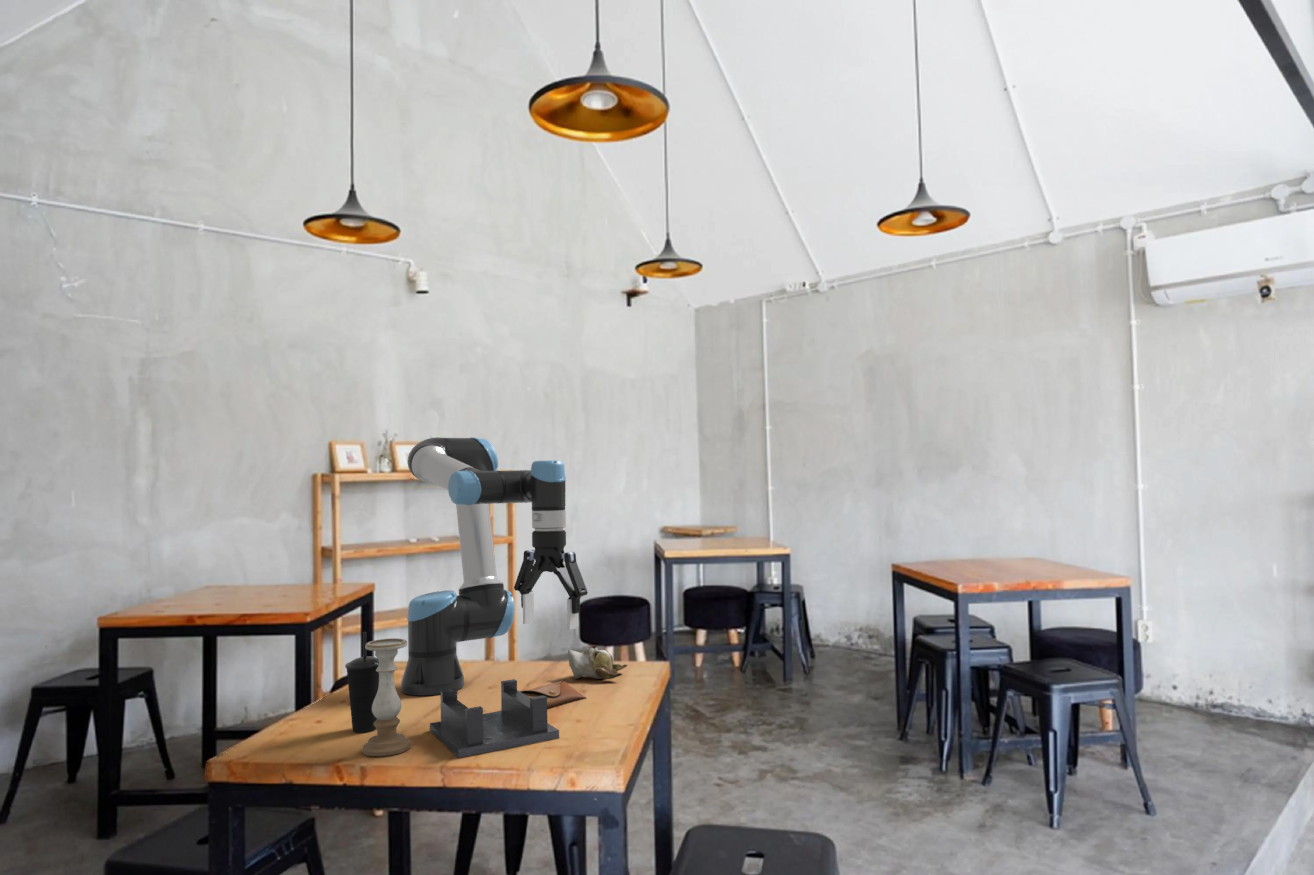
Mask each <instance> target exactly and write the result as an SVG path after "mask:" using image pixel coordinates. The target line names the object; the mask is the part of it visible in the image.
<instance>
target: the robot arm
mask: <svg viewBox="0 0 1314 875" xmlns="http://www.w3.org/2000/svg"><path fill="white" fill-rule="evenodd" d="M412 447H413V446H412ZM530 466H531V468H530V469H521V470H518V469H517V470H499V469H498V468H499V458H498V454H497V452H496V449H495V447H494V445H493V444H492V443H491V442H490V441H489V440H488V439H485V438H476V437H430V438H427V439H424V440H422V441H420V442H418V443H417V444H416V445H414V447H413V448H411V450H410V451H409V453H408V456H407V468H408V470H409V472H410V474H411V475H412V476H413V477H415V478H416V479H417V480H419V481H422V482H424V483H433V484H435V485H437V486H439V487H441V488H443V489H445V490H446V491H448V496H449V498H450V501H451V503H453V504H455V506H456V509H455V510H456V517H457V526H458V527H457V528H458V536H459V537H458V538H459V546H460V556H461V558H460V559H461V568H462V577H463V583H462V584H461V585H460V587H459V588H458V595H457V593H456V591H454V590H450V589H448V590H440V591H439V590H437V591H433V592H428V593H424V594H420V595H418V596H416V597H414V598H412V599H411V600H410V601H409V604H408V610H407V611H408V612H407V617H406V618H407V620H406V621H407V628H408V629H407V631H408V632H407V633H408V634H407V636H408V637H407V640H408V641H407V648H408V649H407V650H408V651H407V652H408V656H407V657H408V659H407V662H406V665H405V668H404V672H403V676H402V678H401V682H400V692H402V693H403V694H405V695H410V696H434V695H441V690H448V689H454V688H455V689H457V691H458V690H460V689H462V688H463V687H464V686H465V676H464V672H463V669H462V667H461V664H460V661H459V658H458V654H457V645H458V644H457V643H461V642H467V641H476V640H483V639H493V638H496V637H500V636H504V635H505V634H507V633H508V632H509V631H510V629H511V628H512V625H513V622H514V618H515V610H516V609H515V608H516V607H515V606H516V605H515V599H514V597H513V593H512V592H511V591H509V590H508V589H505V587H504V582H503V581H502V580H501V579H499V578H498V576H497V568H496V558H495V549H494V541H493V540H494V539H493V531H492V530H493V529H492V523H491V515H490V514H491V512H490V505H491V504H520V503H521V504H524V503H525V504H527V503H531V528H532V529H533V531H532V532H531V544H532V545H531V546H532V548H533V549H529V550H524V551H523V560H522V563H521V566H520V567H519V572H518V575H517V578H516V581H515V584H514V586H513V589H514V591H518V592H519V594H520V598H521V599H520V604H521V605H520V606H521V608H522V624H524V625H526V624H533V623H534V622H535V603H534V601H535V600H534V599H535V598H534V593H533V592H534V591H533V588H534V587H535V585H536V584H537V582H538V580H539V578H540V577H541V576H542V574H543V573H544V572H548V573H553V574H554V575H555V576H556V577H557V578H558V580H559V581H560V583H561V584H562V586H563V588H564V590H565V592H566V594H568V597H567V598H566V612H567V613H566V619H567V620H566V621H567V624H566V626H567V630H575V629H578V628H579V613H580V612H581V598H582V597H584V596H587V595H588V593H589V592H588V589H587V586H586V584H585V581H584V578H583V576H582V573H581V571H580V570H581V569H580V568H579V566H578V562H577V554H576V552H575V551H569V552H565V547H566V545H567V531H566V530H565V529H564V528H566V527H567V524H566V523H567V520H566V519H567V518H566V515H567V512H566V479H567V476H566V473H565V472H566V471H565V463H564V462H563V461H562V460H534V461H532V463H531V465H530Z"/></svg>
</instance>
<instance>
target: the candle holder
mask: <svg viewBox="0 0 1314 875" xmlns="http://www.w3.org/2000/svg"><path fill="white" fill-rule="evenodd" d="M406 647H408V641H407V640H406V639H404V638H395V637H394V638H381V639H374V640H371V641H368V642H367V644H366V646H365V648H366V649H367V651H371V652H374V657H376V658H378V660H379V666H378V667H377V669H376V671H377V672H379V687H378V691H377V694H376V697H375V699H374V701H373V704H372V713H373V715H374V716H375V717H376V718H377V719H376V721H375V722H374V726H375V727H376V732H377V733H376V735H374V736H372V737H370V738H369V739H368V740H367V742H366V743H364V745H362V754H364V755H365V756H368V757H375V756H376V757H379V758H380V757H389V756H395V755H398V754H402V753H404V752H406V751H408V750H409V749H410V748H411V746H412V742H411V740H410V738H408V737H406V735H405V734H404V733H401V732H397V729H398V728H397V727H398V725H399V724H400V722H401V720H400V718H398V717H397V716H399V714H400V712H401V710H402V702H401V698H400V696H399V694H398V692H397V689H396V686H395V671H396V670H398V668H397V666H396V664H395V658H396V657H397V655H398V654H399V651H398V650H400V649H403V648H406ZM376 757H375V758H376Z"/></svg>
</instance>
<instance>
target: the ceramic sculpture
mask: <svg viewBox="0 0 1314 875" xmlns="http://www.w3.org/2000/svg"><path fill="white" fill-rule="evenodd" d="M567 650H568V651H567V654H568V664H569V667H570V670H571V672H572V674H573V677H574V678H575V679H580V678H581V677H584V676H585V677H590V678H592V679H597V680H602V679H605V680H612V679H616V678H618V677H620V676H622V675H623V673H622V672H619V671H621V670H624V669H625V668H627V667H628V664H619V663H615V662H614V660H613V659H614V658H613V656H612V654H611V653H610V651H608V650H606V649H599V648H598V646H597V645H596V644H595V645H594V644H593V645H591V646H589V647H587V648H586V650H584V651H583V652H579V651H575V650H572V649H567Z"/></svg>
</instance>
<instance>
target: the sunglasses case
mask: <svg viewBox="0 0 1314 875" xmlns="http://www.w3.org/2000/svg"><path fill="white" fill-rule="evenodd" d="M519 691H520V692H521V693H523V694H525V695H527V696H528V697H530V698H532V697H538V696H546V697H547V711H548V710H551V709H553V708H557V707H560V706H563V705H567V704H570V703H573V702H577V701H581V700H585V699H587V697H586V696H584V695H582V694H581V693H580V692H578V690H576V689H575V688H574V687H572V686H571V685H570V684H569V683H568V682H567V681H566V679H562V680H560V681H558V682H554V683H549V684H546V685H545V684H544V685H542V686H538V687H534V688H531V689H527V690H526V689H525V690H519Z"/></svg>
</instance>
